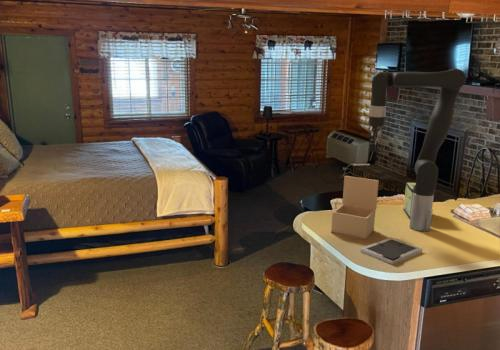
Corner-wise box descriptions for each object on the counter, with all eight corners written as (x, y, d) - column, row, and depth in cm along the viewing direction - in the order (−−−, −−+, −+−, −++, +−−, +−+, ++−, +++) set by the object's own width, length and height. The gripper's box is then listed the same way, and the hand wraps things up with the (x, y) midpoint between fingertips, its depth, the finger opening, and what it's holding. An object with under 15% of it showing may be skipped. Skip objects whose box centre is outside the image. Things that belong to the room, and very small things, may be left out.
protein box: (422, 210, 254) (426, 182, 250) (430, 220, 239) (434, 190, 235) (402, 209, 255) (405, 181, 251) (409, 219, 240) (412, 189, 236)
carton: (373, 230, 223) (375, 210, 221) (365, 239, 211) (367, 218, 209) (340, 224, 231) (342, 204, 228) (331, 232, 219) (332, 212, 216)
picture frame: (392, 265, 187) (421, 253, 199) (393, 259, 186) (422, 247, 199) (360, 252, 199) (390, 241, 211) (360, 246, 198) (390, 235, 211)
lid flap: (375, 209, 221) (379, 206, 227) (378, 180, 218) (381, 177, 223) (342, 204, 228) (346, 200, 234) (344, 176, 225) (348, 173, 231)
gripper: (381, 117, 216) (378, 154, 220) (388, 114, 228) (385, 149, 232) (365, 116, 219) (362, 152, 223) (373, 113, 231) (370, 148, 236)
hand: (374, 150), depth 228 cm, fingers open, 4 cm apart
